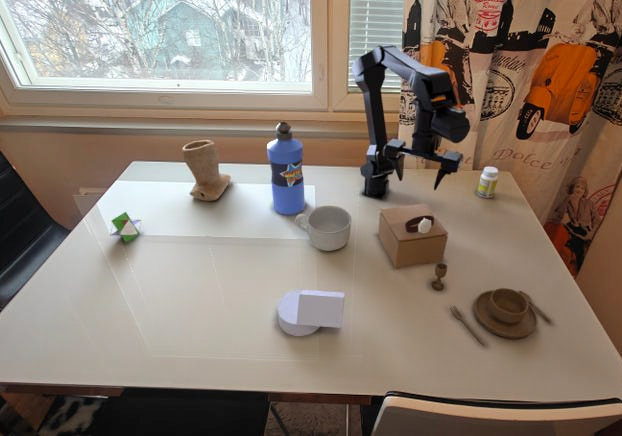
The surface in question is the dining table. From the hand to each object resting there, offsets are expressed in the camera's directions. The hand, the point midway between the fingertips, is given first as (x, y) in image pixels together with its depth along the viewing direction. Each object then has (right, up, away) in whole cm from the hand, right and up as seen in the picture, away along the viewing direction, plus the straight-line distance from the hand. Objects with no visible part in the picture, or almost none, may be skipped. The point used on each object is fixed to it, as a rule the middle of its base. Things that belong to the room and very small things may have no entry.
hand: (417, 184), depth 100 cm
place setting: (+11, -27, -18) cm, 34 cm away
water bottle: (-35, -5, +13) cm, 37 cm away
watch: (-2, -11, -10) cm, 15 cm away
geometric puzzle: (-74, -14, 0) cm, 76 cm away
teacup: (-24, -15, -1) cm, 28 cm away
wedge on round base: (-26, -29, -22) cm, 45 cm away
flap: (-4, -8, -5) cm, 10 cm away
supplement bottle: (+25, -1, +19) cm, 31 cm away
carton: (-3, -16, -3) cm, 17 cm away
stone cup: (-60, 0, +20) cm, 64 cm away
